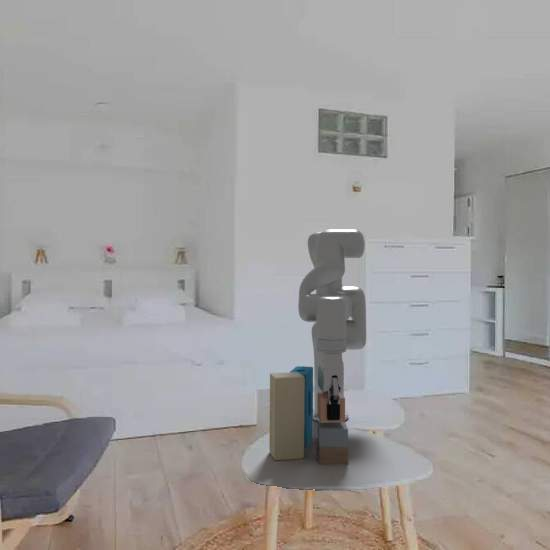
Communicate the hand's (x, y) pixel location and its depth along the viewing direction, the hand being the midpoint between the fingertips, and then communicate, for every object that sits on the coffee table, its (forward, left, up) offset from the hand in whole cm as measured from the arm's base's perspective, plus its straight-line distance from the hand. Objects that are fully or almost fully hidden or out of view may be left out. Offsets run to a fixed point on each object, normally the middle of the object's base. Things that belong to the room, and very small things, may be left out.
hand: (331, 415), depth 137 cm
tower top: (0, 0, -7) cm, 7 cm away
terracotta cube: (0, 0, -1) cm, 1 cm away
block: (-14, -6, -11) cm, 19 cm away
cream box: (-4, -11, -11) cm, 16 cm away
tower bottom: (0, 0, -11) cm, 11 cm away
